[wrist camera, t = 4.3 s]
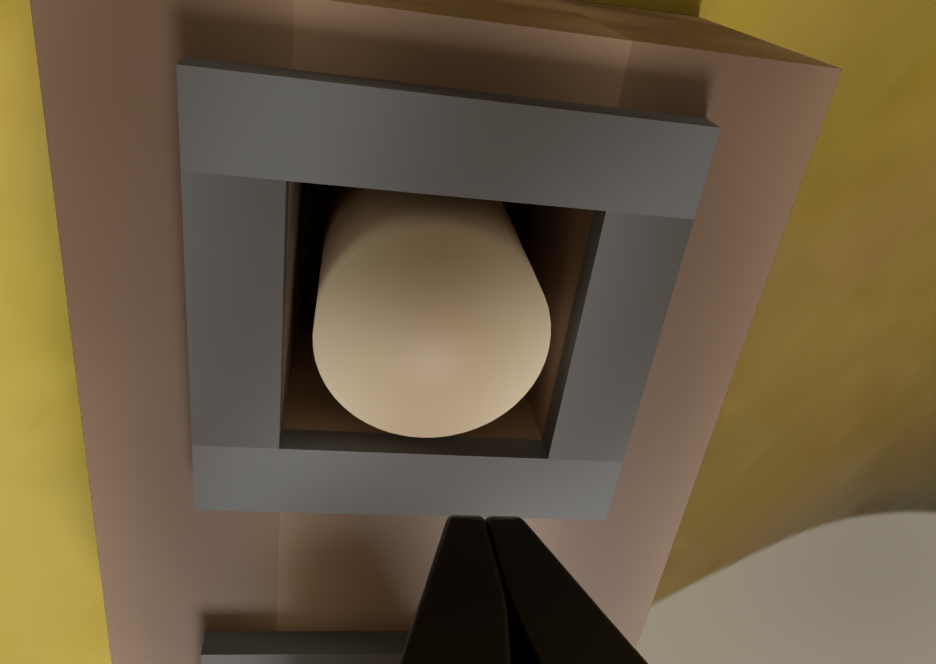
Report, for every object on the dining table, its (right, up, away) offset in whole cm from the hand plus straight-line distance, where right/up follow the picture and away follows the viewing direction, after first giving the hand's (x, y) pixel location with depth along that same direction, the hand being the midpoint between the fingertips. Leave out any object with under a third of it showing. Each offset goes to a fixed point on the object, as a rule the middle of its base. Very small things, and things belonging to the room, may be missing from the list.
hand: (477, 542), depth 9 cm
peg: (-1, +5, +10) cm, 11 cm away
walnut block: (-2, 0, +13) cm, 13 cm away
